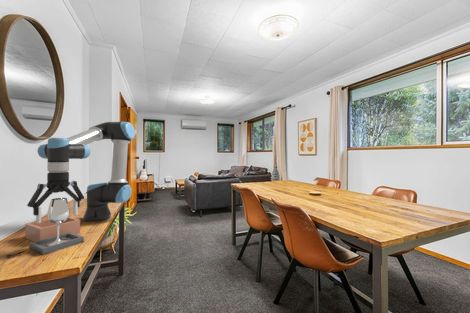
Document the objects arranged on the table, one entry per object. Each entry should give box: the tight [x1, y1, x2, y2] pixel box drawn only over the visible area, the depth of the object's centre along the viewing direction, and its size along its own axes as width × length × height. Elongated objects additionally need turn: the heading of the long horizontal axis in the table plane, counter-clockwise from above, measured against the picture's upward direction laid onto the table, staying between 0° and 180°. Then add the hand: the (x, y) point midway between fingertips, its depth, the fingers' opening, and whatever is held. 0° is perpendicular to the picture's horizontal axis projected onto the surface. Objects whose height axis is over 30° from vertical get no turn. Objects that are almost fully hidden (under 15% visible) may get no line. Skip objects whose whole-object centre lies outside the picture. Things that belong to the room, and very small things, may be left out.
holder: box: [24, 216, 81, 242], centre depth 106 cm, size 16×16×7 cm
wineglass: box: [46, 197, 71, 246], centre depth 94 cm, size 8×8×20 cm
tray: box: [29, 232, 85, 256], centre depth 94 cm, size 15×13×2 cm
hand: (58, 218), depth 94 cm, fingers open, 13 cm apart
